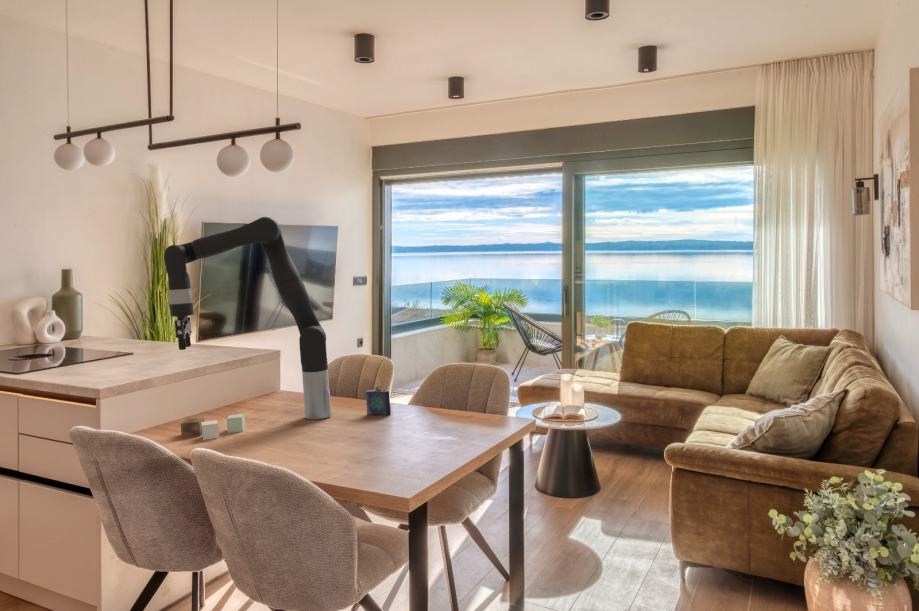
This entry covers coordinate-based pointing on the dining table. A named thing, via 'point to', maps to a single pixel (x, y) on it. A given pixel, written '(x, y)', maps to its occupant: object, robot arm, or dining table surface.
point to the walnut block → (191, 427)
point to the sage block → (235, 423)
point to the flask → (378, 402)
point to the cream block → (210, 430)
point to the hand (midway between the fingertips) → (185, 348)
